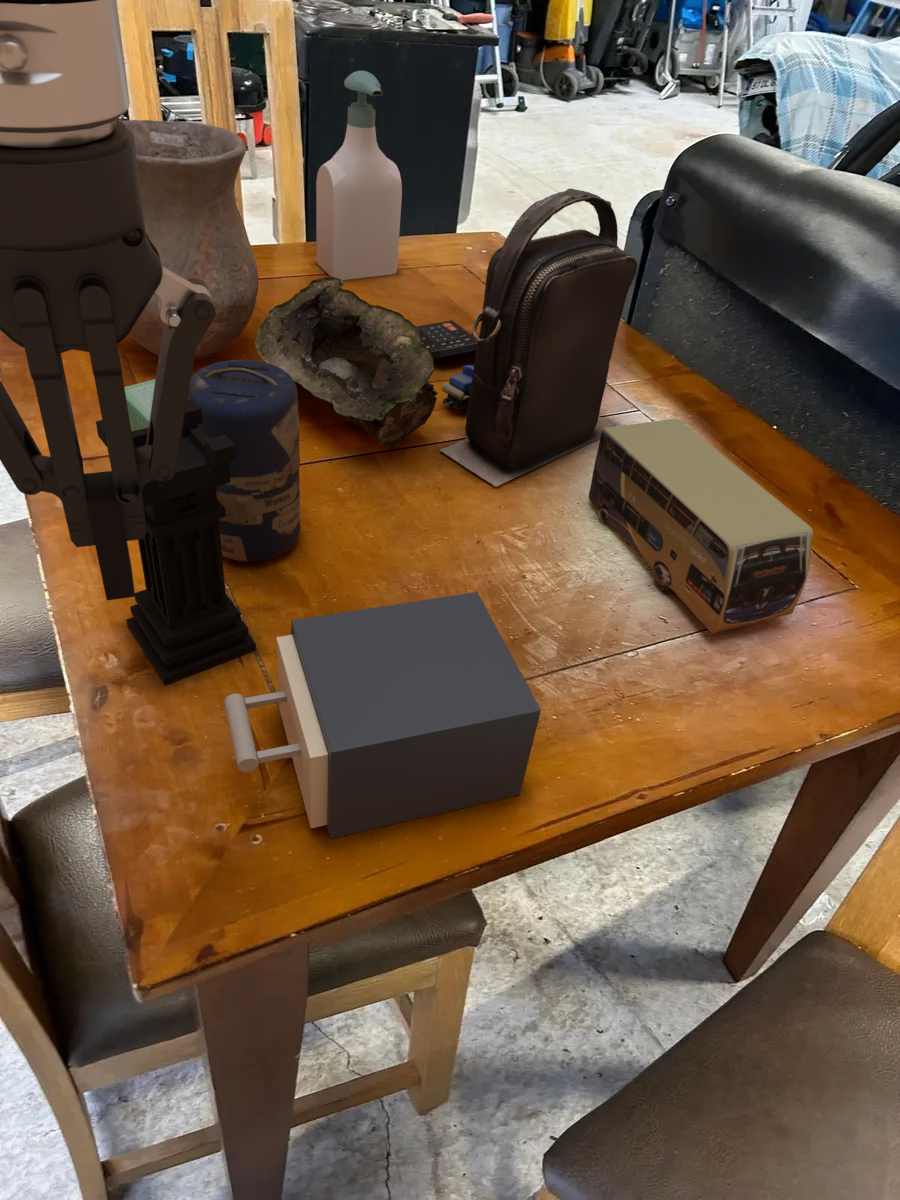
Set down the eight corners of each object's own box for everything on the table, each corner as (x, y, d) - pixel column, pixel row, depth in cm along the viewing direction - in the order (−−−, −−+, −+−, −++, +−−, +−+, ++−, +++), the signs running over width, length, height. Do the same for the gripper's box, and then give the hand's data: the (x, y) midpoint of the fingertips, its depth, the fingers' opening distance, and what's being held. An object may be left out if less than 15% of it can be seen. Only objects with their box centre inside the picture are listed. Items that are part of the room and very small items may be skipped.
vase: (83, 332, 115) (44, 119, 98) (219, 307, 124) (204, 109, 108) (146, 400, 104) (114, 173, 87) (290, 366, 113) (286, 156, 97)
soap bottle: (337, 285, 134) (341, 80, 116) (316, 265, 139) (316, 65, 121) (402, 278, 139) (415, 79, 121) (379, 258, 144) (388, 65, 126)
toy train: (569, 372, 120) (576, 336, 117) (456, 422, 107) (460, 384, 103) (547, 361, 122) (554, 326, 118) (433, 409, 109) (437, 371, 105)
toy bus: (706, 644, 81) (737, 555, 74) (581, 508, 97) (599, 426, 91) (791, 623, 84) (828, 537, 78) (658, 496, 100) (679, 416, 94)
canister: (272, 580, 82) (264, 407, 70) (181, 552, 84) (159, 379, 72) (317, 525, 89) (317, 359, 77) (232, 500, 91) (219, 334, 79)
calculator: (451, 325, 127) (453, 305, 125) (497, 361, 120) (500, 340, 118) (395, 336, 123) (396, 315, 121) (439, 373, 116) (441, 351, 114)
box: (186, 429, 100) (179, 368, 95) (248, 487, 93) (244, 425, 88) (124, 447, 96) (113, 385, 91) (184, 510, 89) (175, 446, 84)
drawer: (248, 842, 60) (241, 771, 55) (223, 718, 68) (215, 646, 63) (490, 787, 66) (505, 718, 60) (441, 678, 73) (451, 609, 68)
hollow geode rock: (415, 502, 102) (503, 402, 99) (346, 456, 91) (443, 342, 89) (306, 385, 118) (380, 296, 115) (238, 334, 107) (317, 236, 105)
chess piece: (165, 685, 71) (130, 476, 58) (127, 626, 76) (87, 420, 63) (256, 649, 75) (243, 446, 62) (215, 595, 80) (195, 395, 66)
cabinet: (329, 839, 62) (330, 752, 56) (293, 707, 71) (290, 619, 64) (520, 795, 66) (541, 710, 60) (464, 676, 75) (477, 591, 69)
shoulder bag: (565, 398, 114) (613, 166, 96) (620, 428, 110) (682, 191, 91) (438, 452, 101) (466, 196, 83) (495, 489, 97) (537, 227, 78)
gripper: (-183, 144, 30) (-11, 647, 45) (215, 149, 34) (247, 609, 49) (-151, 88, 35) (-7, 557, 50) (191, 98, 39) (227, 529, 54)
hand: (119, 582), depth 50 cm, fingers closed
